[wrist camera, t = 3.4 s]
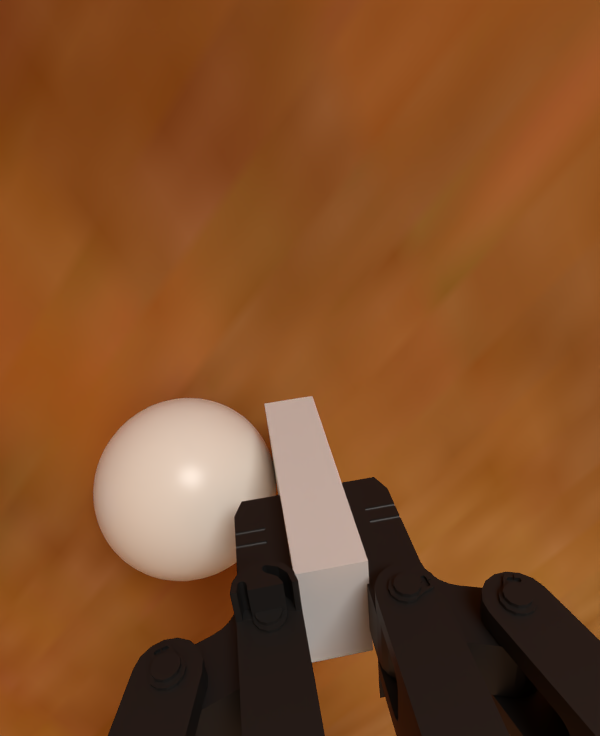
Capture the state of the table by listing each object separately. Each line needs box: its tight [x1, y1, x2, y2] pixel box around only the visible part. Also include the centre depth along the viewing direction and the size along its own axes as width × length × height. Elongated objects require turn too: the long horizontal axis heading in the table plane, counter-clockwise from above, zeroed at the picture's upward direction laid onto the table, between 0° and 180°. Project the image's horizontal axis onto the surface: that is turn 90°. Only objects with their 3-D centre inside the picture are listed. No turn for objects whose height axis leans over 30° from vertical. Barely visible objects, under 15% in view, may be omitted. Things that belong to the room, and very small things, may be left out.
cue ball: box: [93, 398, 276, 581], centre depth 17 cm, size 6×6×6 cm
